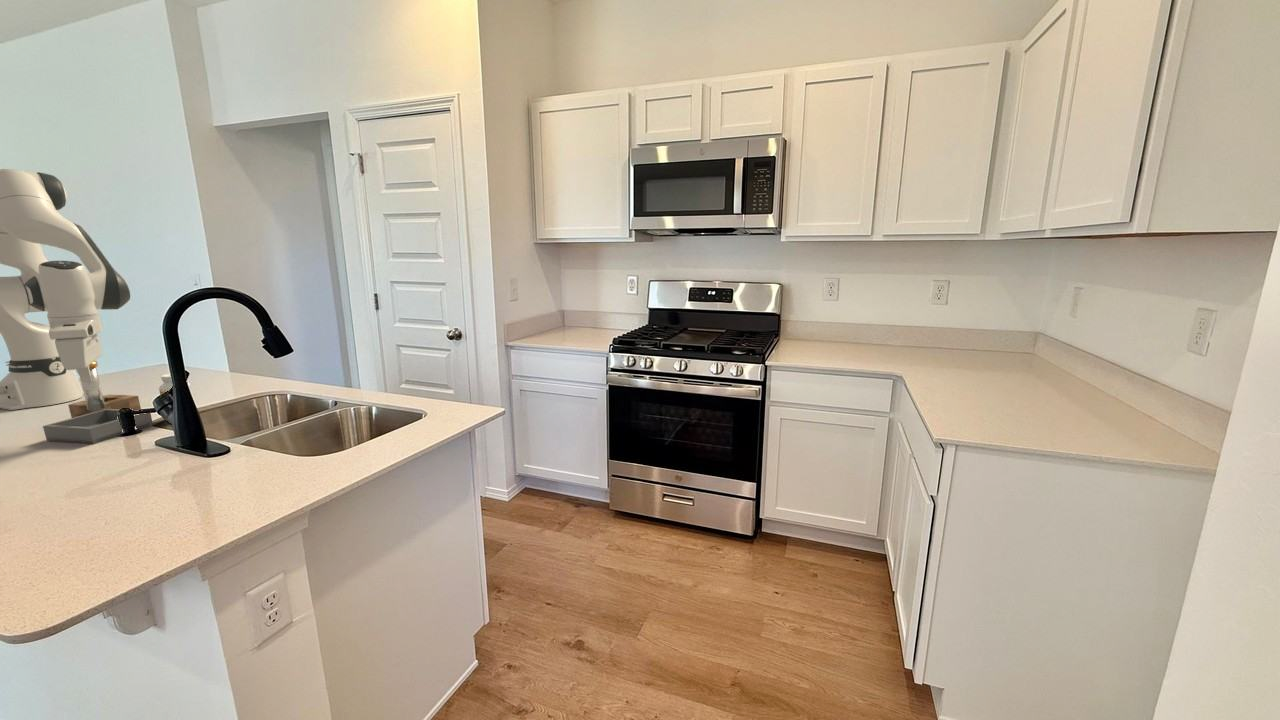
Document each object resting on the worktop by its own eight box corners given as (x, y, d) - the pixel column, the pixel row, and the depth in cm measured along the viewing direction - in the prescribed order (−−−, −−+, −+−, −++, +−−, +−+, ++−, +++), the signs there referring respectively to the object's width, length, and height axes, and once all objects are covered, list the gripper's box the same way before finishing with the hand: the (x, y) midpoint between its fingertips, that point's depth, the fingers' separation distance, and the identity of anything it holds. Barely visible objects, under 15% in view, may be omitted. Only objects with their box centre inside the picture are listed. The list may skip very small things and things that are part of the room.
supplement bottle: (170, 416, 149) (161, 373, 146) (199, 413, 151) (191, 370, 149) (161, 423, 143) (152, 378, 140) (191, 420, 145) (183, 376, 143)
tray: (46, 441, 130) (42, 425, 129) (109, 422, 144) (106, 408, 143) (93, 444, 128) (89, 428, 127) (153, 424, 142) (150, 411, 141)
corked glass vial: (83, 411, 132) (72, 365, 129) (87, 407, 135) (76, 362, 132) (105, 408, 134) (95, 362, 131) (109, 404, 137) (98, 360, 134)
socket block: (72, 421, 144) (68, 404, 143) (112, 410, 154) (109, 394, 153) (102, 423, 143) (98, 406, 142) (141, 412, 152) (138, 395, 151)
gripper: (69, 323, 136) (81, 373, 139) (46, 333, 120) (60, 390, 123) (103, 321, 140) (114, 370, 143) (84, 330, 124) (98, 386, 127)
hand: (89, 380), depth 133 cm, fingers closed on corked glass vial, 3 cm apart
